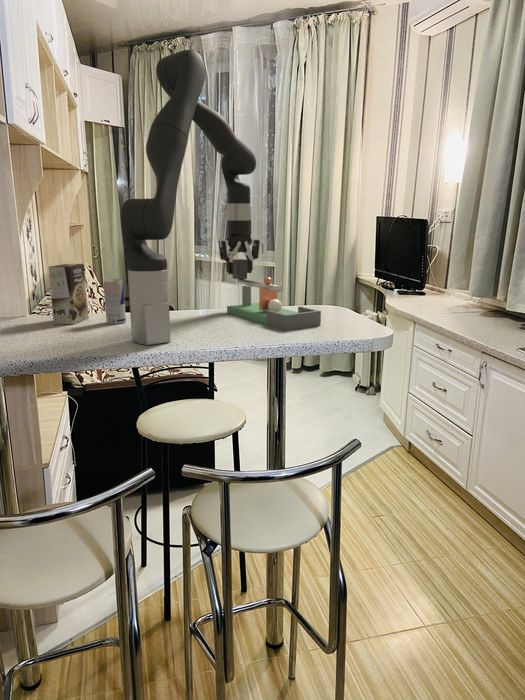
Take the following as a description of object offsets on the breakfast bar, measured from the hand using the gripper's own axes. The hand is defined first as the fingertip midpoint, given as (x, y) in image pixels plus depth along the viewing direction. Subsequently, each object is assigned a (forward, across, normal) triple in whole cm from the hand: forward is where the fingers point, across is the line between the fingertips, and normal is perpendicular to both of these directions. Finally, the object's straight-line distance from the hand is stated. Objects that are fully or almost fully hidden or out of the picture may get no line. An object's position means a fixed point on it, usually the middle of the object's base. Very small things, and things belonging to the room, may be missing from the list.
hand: (239, 273), depth 165 cm
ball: (+8, 0, -20) cm, 21 cm away
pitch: (+12, 0, -18) cm, 21 cm away
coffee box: (+12, -50, +11) cm, 53 cm away
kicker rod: (+9, 0, -10) cm, 14 cm away
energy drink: (+12, -40, +2) cm, 42 cm away
